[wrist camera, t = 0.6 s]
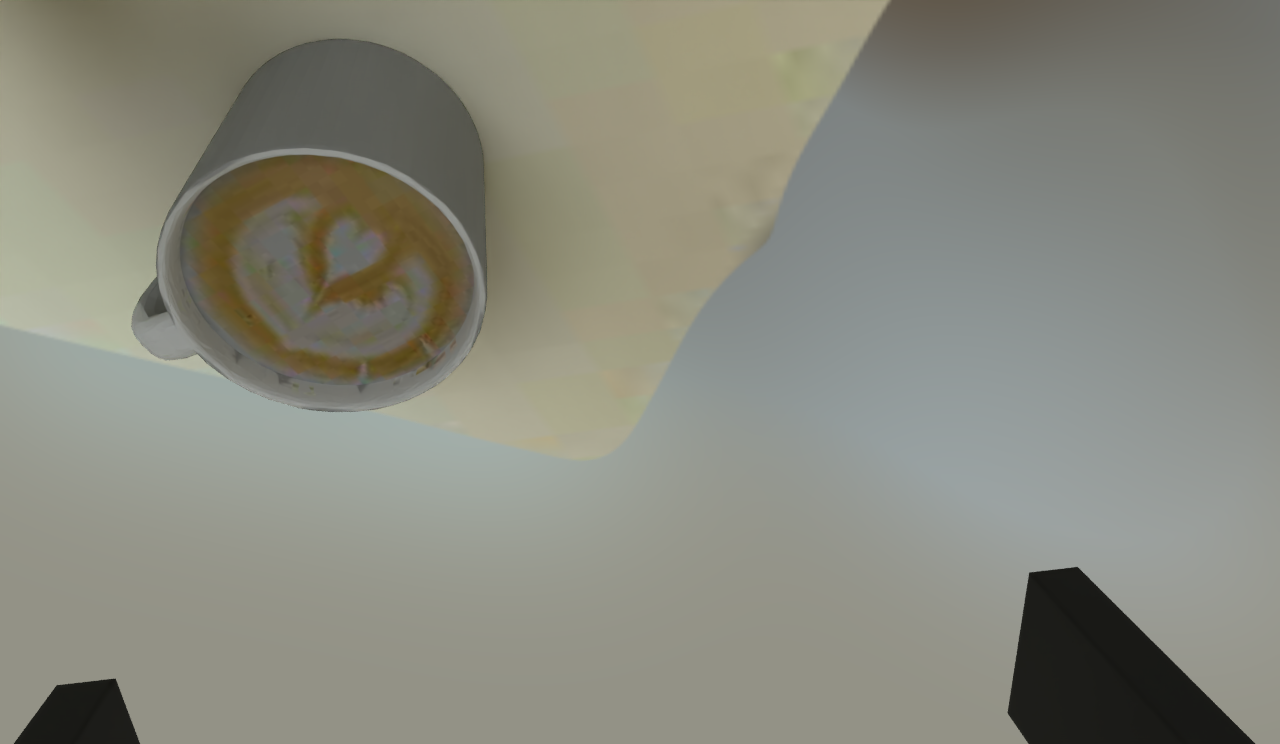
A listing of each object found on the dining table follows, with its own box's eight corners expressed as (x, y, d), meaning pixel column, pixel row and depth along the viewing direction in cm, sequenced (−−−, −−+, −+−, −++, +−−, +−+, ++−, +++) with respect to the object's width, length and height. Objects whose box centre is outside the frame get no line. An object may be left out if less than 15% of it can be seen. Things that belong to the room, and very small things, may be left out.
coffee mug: (435, 9, 31) (423, 107, 23) (513, 235, 37) (524, 372, 30) (89, 99, 31) (-37, 228, 23) (225, 311, 37) (161, 467, 30)
